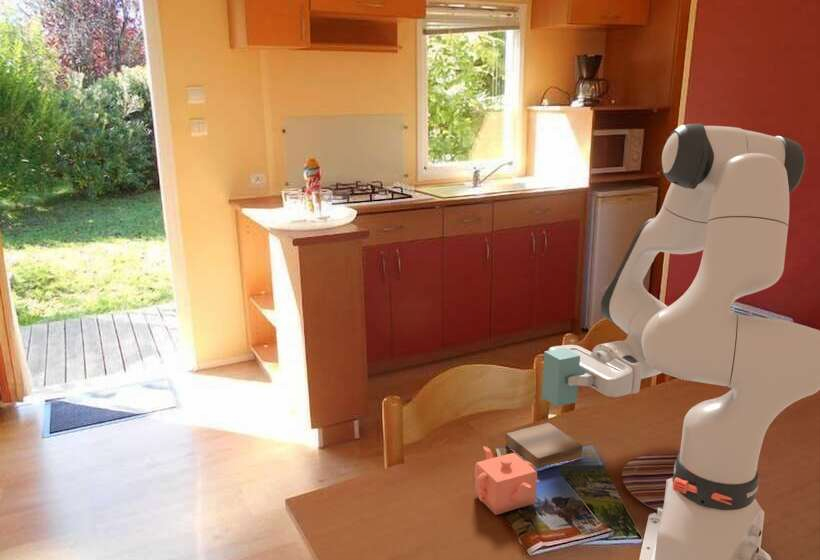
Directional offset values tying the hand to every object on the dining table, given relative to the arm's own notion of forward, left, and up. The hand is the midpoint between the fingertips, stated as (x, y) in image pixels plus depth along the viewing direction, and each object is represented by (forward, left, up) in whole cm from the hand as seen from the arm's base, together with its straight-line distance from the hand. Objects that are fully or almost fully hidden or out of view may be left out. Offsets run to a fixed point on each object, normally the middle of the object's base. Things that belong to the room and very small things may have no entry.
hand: (557, 375), depth 130 cm
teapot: (-22, -1, -17) cm, 28 cm away
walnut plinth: (-2, +1, -17) cm, 17 cm away
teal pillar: (+1, 0, -6) cm, 6 cm away
